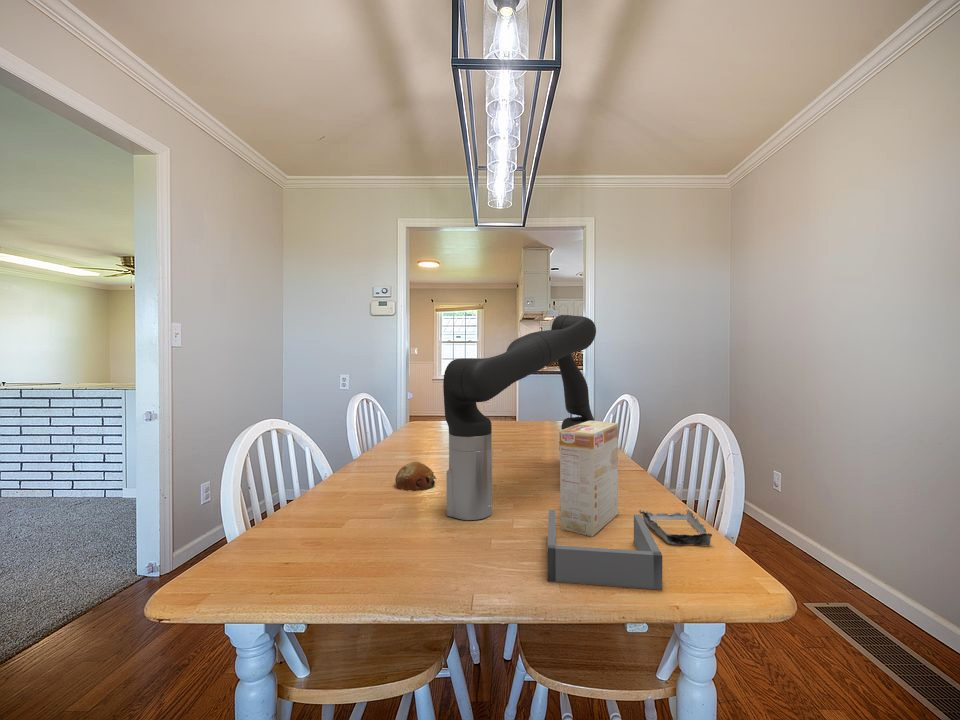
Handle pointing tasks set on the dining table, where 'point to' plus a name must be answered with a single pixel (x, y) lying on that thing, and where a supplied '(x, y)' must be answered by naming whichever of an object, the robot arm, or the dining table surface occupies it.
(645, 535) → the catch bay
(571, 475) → the coffeecake box
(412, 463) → the bread roll
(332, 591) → the dining table surface
